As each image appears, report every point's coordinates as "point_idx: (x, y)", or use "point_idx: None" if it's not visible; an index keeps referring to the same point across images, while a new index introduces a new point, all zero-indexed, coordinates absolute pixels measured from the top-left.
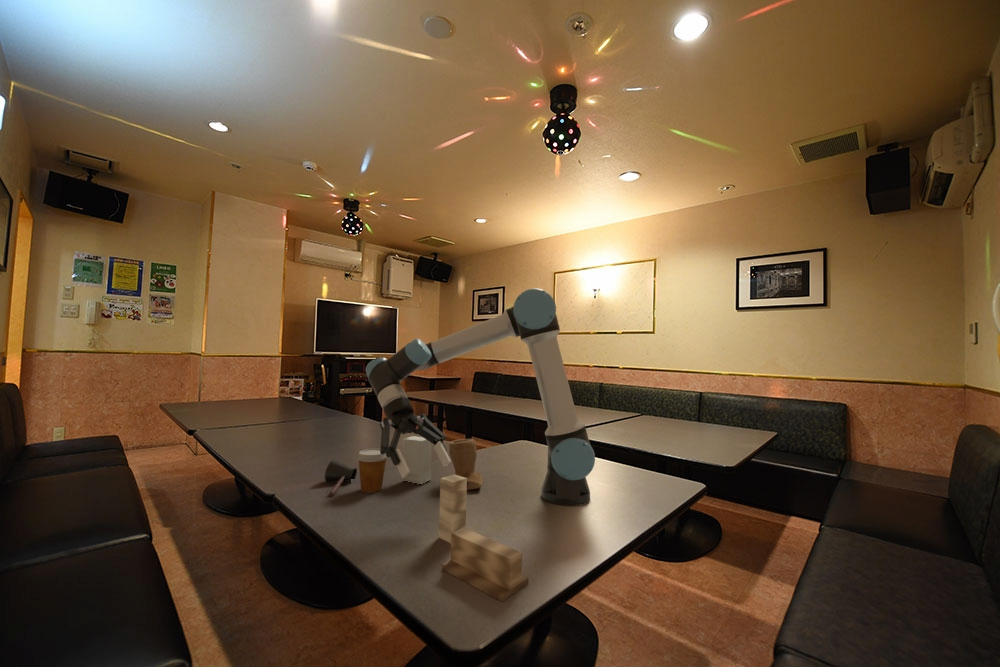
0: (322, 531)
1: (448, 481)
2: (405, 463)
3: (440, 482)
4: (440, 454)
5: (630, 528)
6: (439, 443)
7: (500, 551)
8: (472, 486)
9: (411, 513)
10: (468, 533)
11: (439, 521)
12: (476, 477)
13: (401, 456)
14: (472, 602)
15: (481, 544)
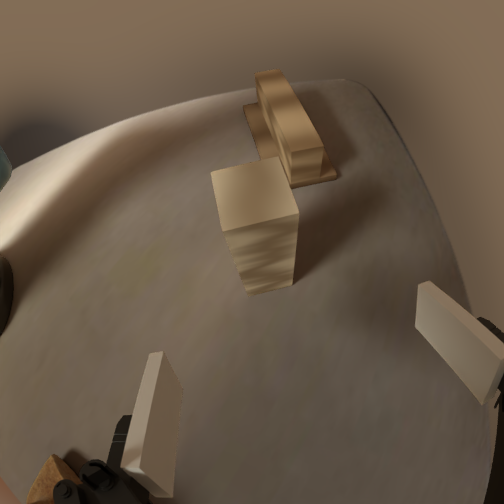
0: (483, 428)
1: (285, 176)
2: (445, 305)
3: (298, 221)
4: (168, 427)
5: (37, 166)
6: (141, 454)
7: (279, 82)
8: (69, 471)
9: (286, 456)
10: (294, 131)
11: (293, 271)
12: (43, 485)
13: (476, 325)
14: (326, 112)
15: (293, 100)
